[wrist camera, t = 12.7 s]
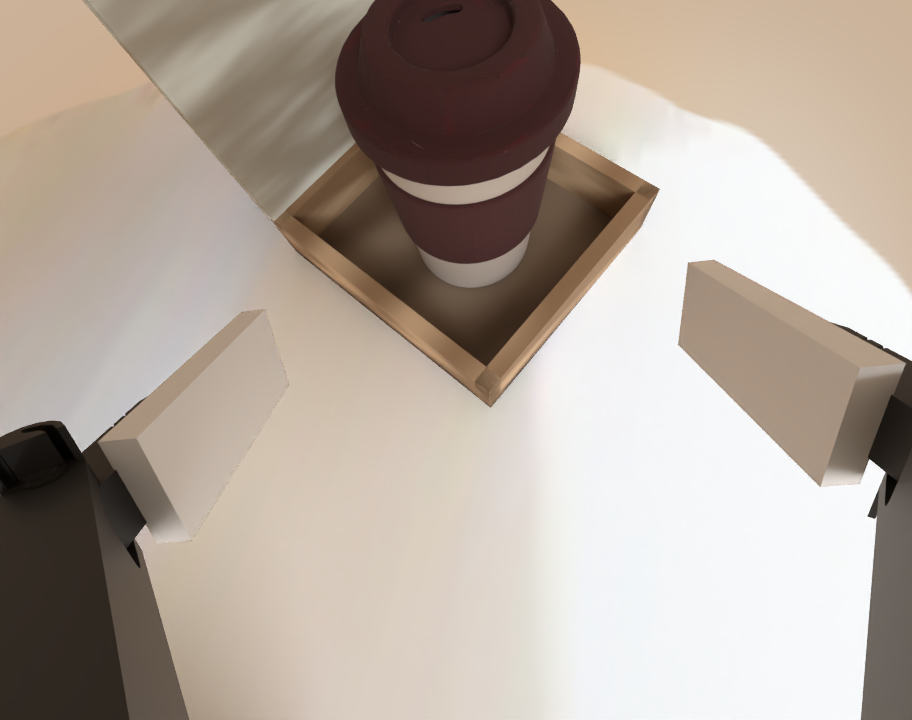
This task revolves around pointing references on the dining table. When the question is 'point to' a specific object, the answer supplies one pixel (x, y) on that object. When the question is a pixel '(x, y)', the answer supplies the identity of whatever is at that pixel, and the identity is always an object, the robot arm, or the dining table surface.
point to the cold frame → (369, 179)
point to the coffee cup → (461, 121)
